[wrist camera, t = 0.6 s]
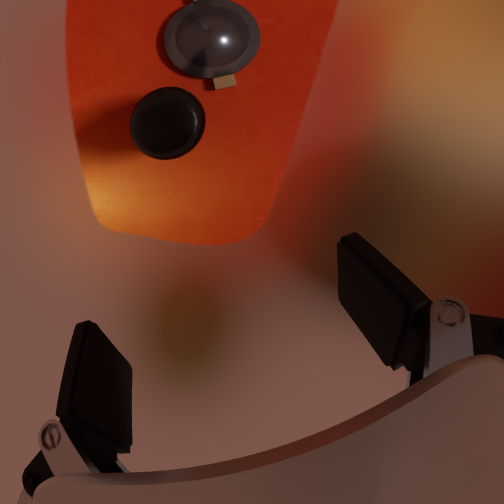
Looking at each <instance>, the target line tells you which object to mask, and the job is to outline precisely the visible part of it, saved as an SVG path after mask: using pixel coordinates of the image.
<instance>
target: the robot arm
mask: <svg viewBox="0 0 504 504" xmlns="http://www.w3.org/2000/svg"><path fill="white" fill-rule="evenodd" d="M337 259H338V296H339V301H340V303H341V305H342V306H343V307H344V309H345V310H346V311H347V313H348V314H349V316H350V317H351V318H352V320H353V321H354V322H355V324H356V325H357V326H358V328H359V329H360V331H361V332H362V333H363V335H364V336H365V338H366V339H367V340H368V342H369V343H370V345H371V346H372V347H373V349H374V350H375V352H376V353H377V354H378V356H379V357H380V359H381V360H382V362H383V363H384V364H385V365H386V366H391V368H392V369H393V371H395V370H397V369H398V368H400V367H402V366H403V365H404V366H405V368H406V369H407V371H408V378H407V384H406V389H405V390H403V391H401V392H400V393H398V394H396V395H394V396H393V397H391V398H389V399H387V400H386V401H384V402H382V403H380V404H378V405H376V406H374V407H372V408H370V409H369V410H367V411H365V412H363V413H361V414H359V415H357V416H354V417H353V418H350V419H349V420H346V421H344V422H342V423H340V424H338V425H335V426H333V427H330V428H328V429H326V430H324V431H321V432H318V433H316V434H314V435H311V436H308V437H305V438H303V439H300V440H297V441H294V442H292V443H289V444H286V445H283V446H280V447H276V448H273V449H270V450H267V451H263V452H260V453H256V454H253V455H249V456H245V457H241V458H237V459H232V460H228V461H223V462H218V463H214V464H208V465H202V466H196V467H190V468H182V469H174V470H164V471H153V472H134V473H130V472H129V471H128V470H127V469H126V467H125V466H124V465H123V464H122V463H121V462H120V460H119V459H118V458H117V453H119V454H123V453H130V446H131V445H132V442H133V441H132V368H131V365H130V364H129V363H128V361H127V360H126V359H125V358H124V357H123V356H122V354H121V353H120V352H119V351H118V350H117V349H116V347H115V346H114V345H113V344H112V343H111V341H110V340H109V339H108V338H107V337H106V335H105V334H104V333H103V332H102V330H101V329H100V328H99V326H98V325H97V324H96V323H93V322H91V321H90V320H88V321H84V322H81V323H78V324H76V326H75V329H74V333H73V336H72V340H71V343H70V347H69V351H68V355H67V359H66V363H65V367H64V372H63V376H62V381H61V386H60V392H59V396H58V402H57V408H56V416H58V417H59V418H60V421H57V420H53V419H52V420H48V421H47V422H46V423H44V425H43V426H42V427H41V429H40V432H39V445H40V448H41V450H40V452H39V453H38V454H37V455H36V457H35V458H34V459H33V460H32V461H31V462H30V464H29V465H28V466H27V468H25V470H24V472H23V476H22V481H23V486H24V489H25V490H24V489H22V492H21V494H20V497H19V500H18V503H17V504H504V319H503V318H496V317H489V316H481V315H474V314H469V311H468V309H467V307H466V306H465V304H464V303H463V302H461V301H460V300H459V299H457V298H454V297H449V296H444V297H440V298H438V299H436V300H435V301H434V302H432V301H431V300H430V299H429V298H428V297H427V296H426V295H425V294H424V293H423V292H422V291H421V290H420V289H419V288H418V287H417V286H416V285H415V284H414V283H413V282H412V281H411V280H410V279H408V278H407V277H406V276H405V275H404V274H403V273H402V272H401V271H400V270H399V269H397V267H396V266H394V265H393V264H392V263H391V262H390V261H389V260H388V259H387V258H386V257H384V256H383V255H382V254H381V253H380V252H379V251H378V250H376V249H375V248H374V247H373V246H371V244H369V243H368V242H367V241H366V240H365V239H364V238H362V237H361V236H360V235H359V234H358V233H356V232H354V233H351V234H348V235H346V236H343V237H341V239H340V242H338V243H337Z"/></svg>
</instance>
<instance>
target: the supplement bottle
mask: <svg viewBox="0 0 504 504" xmlns="http://www.w3.org/2000/svg"><path fill="white" fill-rule="evenodd" d="M205 123H206V118H205V112H204V109H203V106H202V104H201V103H200V101H199V100H198V99H197V98H196V97H195V96H194V95H193V94H192V93H190V92H189V91H187V90H185V89H182V88H178V87H163V88H159V89H156V90H153V91H151V92H150V93H148V94H147V95H145V96H144V97H143V98H142V99H141V100H140V101H139V102H138V103H137V105H136V106H135V108H134V110H133V112H132V115H131V119H130V133H131V137H132V140H133V142H134V143H135V145H136V146H137V148H138V149H139V150H140V151H141V152H142V153H144V154H145V155H147V156H149V157H151V158H154V159H158V160H171V159H176V158H179V157H181V156H183V155H185V154H187V153H188V152H190V151H191V150H192V149H193V148H194V147H195V146H196V145H197V144H198V142H199V141H200V139H201V137H202V135H203V133H204V130H205Z"/></svg>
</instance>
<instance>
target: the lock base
mask: <svg viewBox="0 0 504 504" xmlns="http://www.w3.org/2000/svg"><path fill="white" fill-rule="evenodd" d="M191 1H192V3H190V4H188V5H186V6H185V7H183V8H182V9H180V10H179V11H178V12H177V13H176V14H175V15H174V16H173V17H172V18H171V20H170V21H169V23H168V25H167V27H166V29H165V33H164V46H165V51H166V53H167V56H168V58H169V59H170V61H171V62H172V63H173V64H174V65H175V66H176V67H177V68H178V69H179V70H181V71H182V72H184V73H186V74H188V75H190V76H193V77H197V78H203V79H212V82H213V86H214V90H219V89H223V88H228V87H232V86H236V81H235V77H234V73H236V72H237V71H239V70H241V69H242V68H243V67H245V66H246V65H247V64H248V63H249V62H250V61H251V60H252V59H253V58H254V56H255V54H256V53H257V50H258V48H259V44H260V31H259V27H258V24H257V22H256V20H255V19H254V17H253V16H252V15H251V14H250V13H249V12H248V11H247V10H246V9H245V8H243V7H242V6H240V5H238V4H236V3H234V2H231V1H228V0H191ZM231 74H232V75H231Z"/></svg>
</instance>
